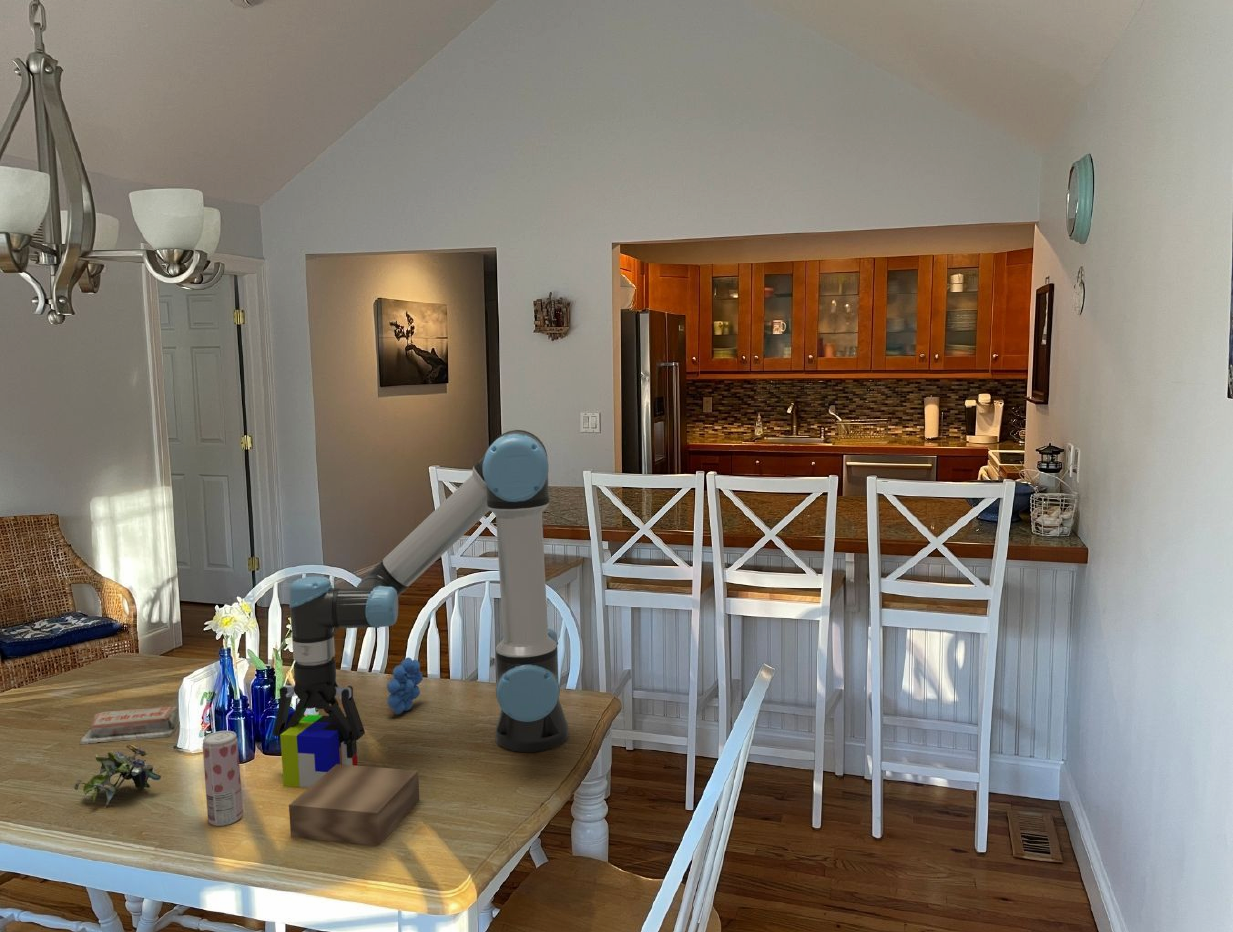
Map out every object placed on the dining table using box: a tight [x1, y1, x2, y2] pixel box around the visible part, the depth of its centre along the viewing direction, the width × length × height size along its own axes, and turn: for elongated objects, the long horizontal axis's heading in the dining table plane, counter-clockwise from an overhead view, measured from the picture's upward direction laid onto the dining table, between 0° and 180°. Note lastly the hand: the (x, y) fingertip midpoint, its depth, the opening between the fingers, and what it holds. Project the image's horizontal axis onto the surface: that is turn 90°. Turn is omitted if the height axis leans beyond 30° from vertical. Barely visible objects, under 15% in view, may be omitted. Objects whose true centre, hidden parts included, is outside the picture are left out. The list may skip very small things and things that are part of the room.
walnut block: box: [288, 764, 420, 847], centre depth 165 cm, size 16×16×6 cm
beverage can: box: [202, 730, 244, 827], centre depth 165 cm, size 6×6×15 cm
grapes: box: [386, 657, 424, 715], centre depth 214 cm, size 12×7×12 cm, turn 155°
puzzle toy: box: [279, 714, 359, 789], centre depth 182 cm, size 10×10×10 cm
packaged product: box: [79, 706, 179, 745], centre depth 206 cm, size 18×5×10 cm
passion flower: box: [73, 744, 162, 808], centre depth 174 cm, size 11×11×12 cm
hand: (321, 771), depth 182 cm, fingers closed on puzzle toy, 10 cm apart
